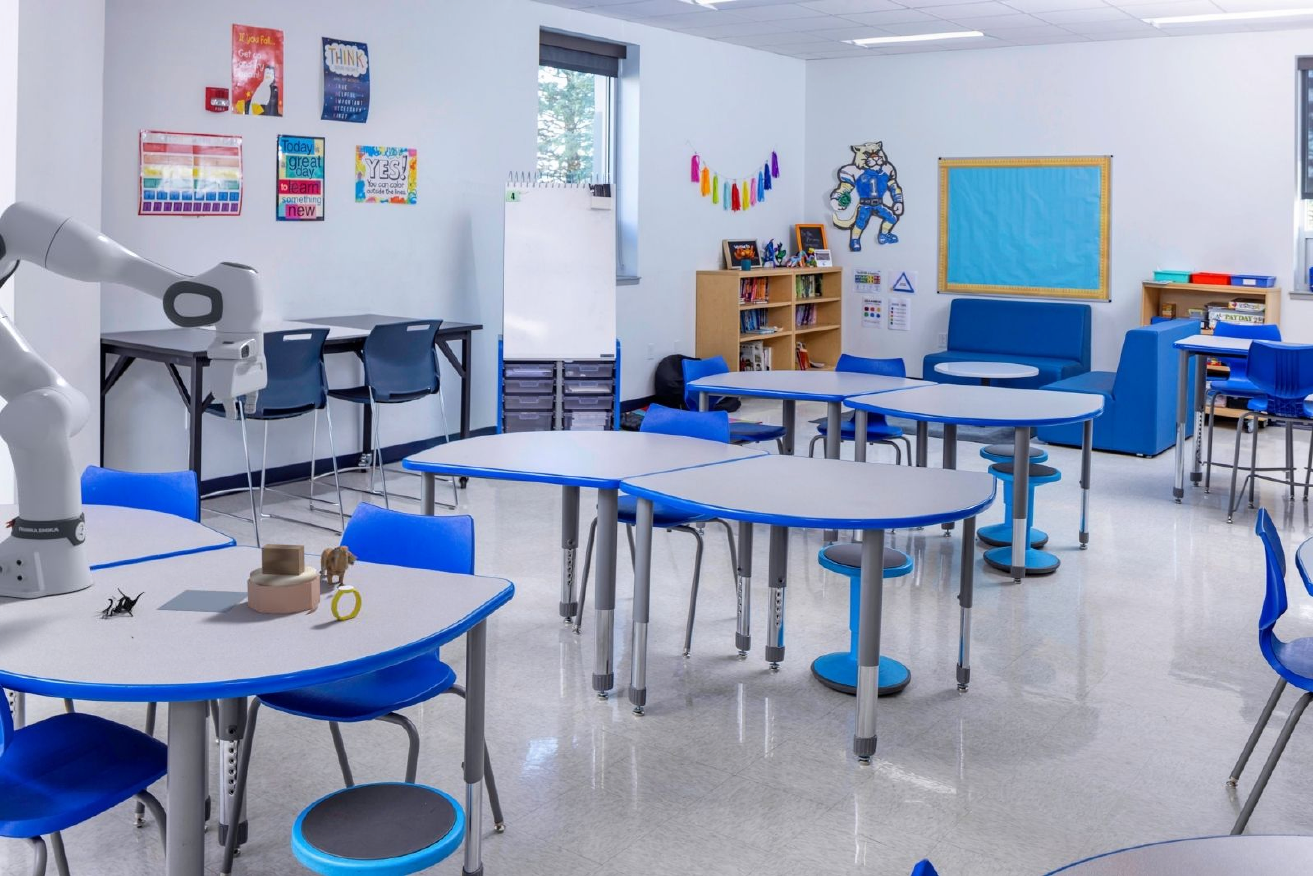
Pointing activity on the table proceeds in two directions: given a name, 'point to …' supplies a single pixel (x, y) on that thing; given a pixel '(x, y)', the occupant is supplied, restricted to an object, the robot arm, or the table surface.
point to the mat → (205, 601)
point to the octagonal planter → (284, 597)
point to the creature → (127, 605)
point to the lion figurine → (336, 563)
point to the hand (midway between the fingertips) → (241, 416)
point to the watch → (337, 596)
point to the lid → (283, 567)
